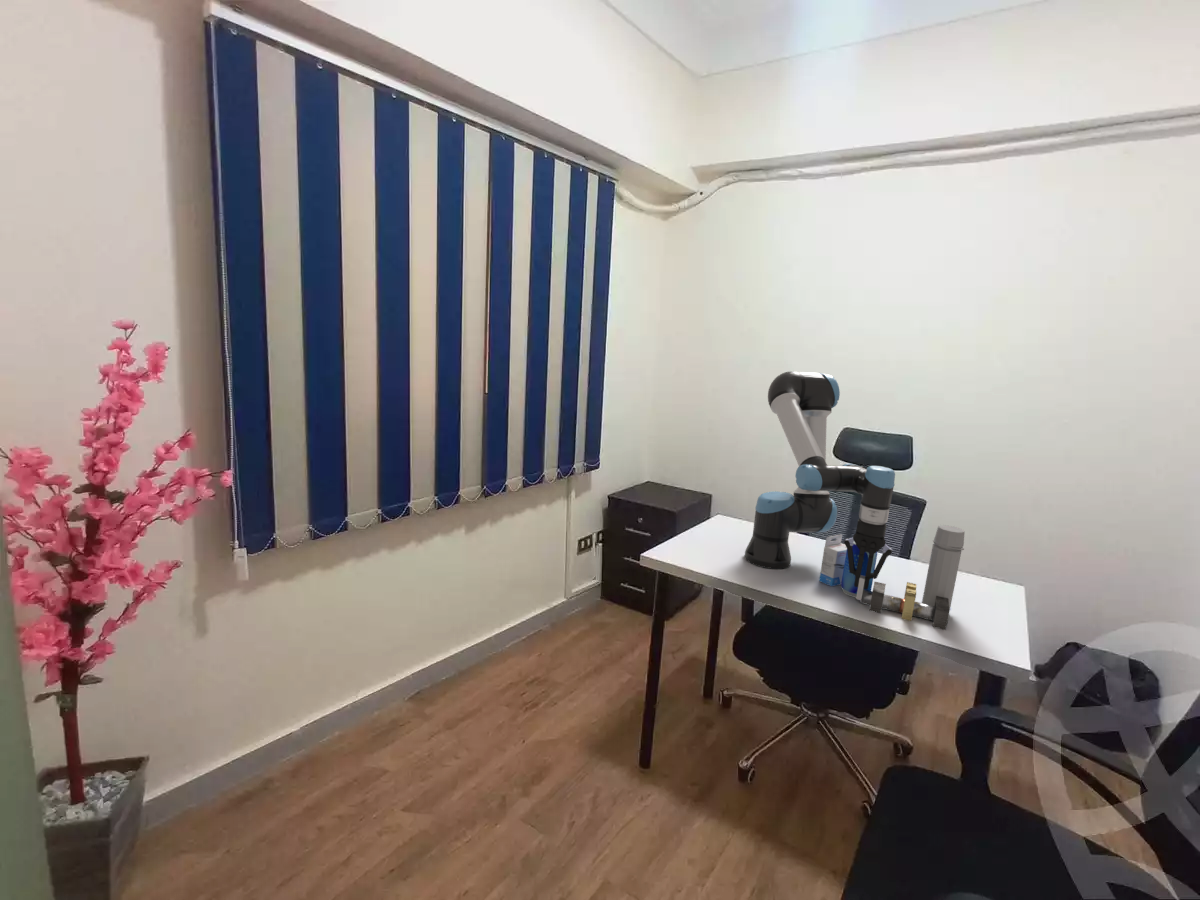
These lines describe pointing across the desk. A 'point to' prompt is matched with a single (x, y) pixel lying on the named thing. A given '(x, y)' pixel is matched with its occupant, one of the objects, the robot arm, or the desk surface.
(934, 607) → the tube
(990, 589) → the desk surface
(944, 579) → the water bottle
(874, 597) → the collar
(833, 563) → the ink box
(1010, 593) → the desk surface
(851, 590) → the beer can
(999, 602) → the desk surface
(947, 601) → the collar
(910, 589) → the aperture bridge
